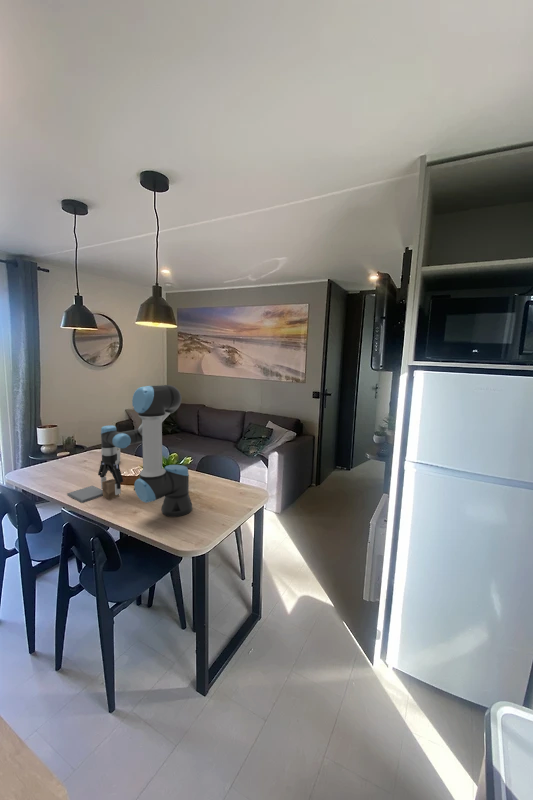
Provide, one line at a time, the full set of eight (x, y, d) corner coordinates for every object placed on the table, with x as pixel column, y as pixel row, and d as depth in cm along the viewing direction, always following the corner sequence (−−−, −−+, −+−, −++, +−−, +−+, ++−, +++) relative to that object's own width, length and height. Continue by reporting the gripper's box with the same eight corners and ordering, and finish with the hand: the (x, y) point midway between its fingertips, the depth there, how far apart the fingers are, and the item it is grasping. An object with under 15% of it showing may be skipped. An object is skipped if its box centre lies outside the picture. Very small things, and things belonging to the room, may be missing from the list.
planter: (97, 466, 226) (97, 451, 225) (109, 461, 238) (108, 446, 237) (113, 467, 224) (113, 452, 223) (124, 462, 236) (123, 448, 235)
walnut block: (119, 496, 179) (118, 481, 177) (109, 500, 174) (108, 484, 172) (113, 493, 182) (112, 478, 181) (102, 497, 177) (102, 481, 176)
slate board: (107, 494, 181) (107, 491, 181) (82, 503, 170) (82, 500, 169) (92, 487, 190) (92, 485, 190) (67, 495, 178) (67, 493, 178)
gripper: (129, 456, 171) (130, 494, 174) (103, 448, 184) (104, 483, 187) (116, 460, 165) (117, 499, 167) (90, 451, 178) (91, 487, 181)
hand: (110, 491), depth 177 cm, fingers open, 13 cm apart
